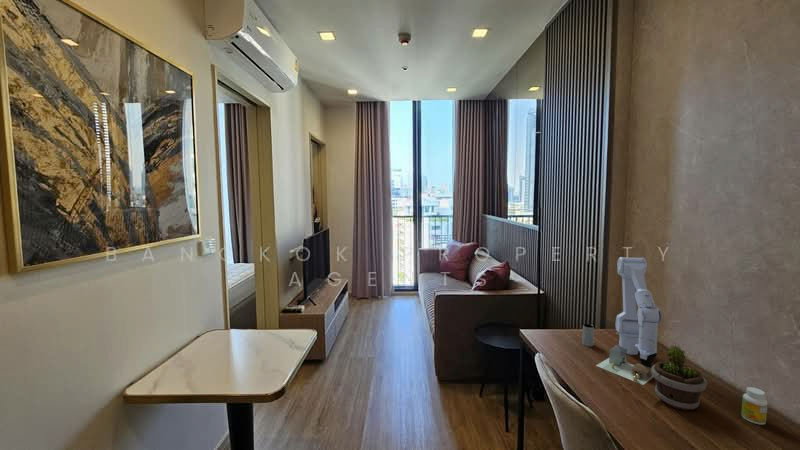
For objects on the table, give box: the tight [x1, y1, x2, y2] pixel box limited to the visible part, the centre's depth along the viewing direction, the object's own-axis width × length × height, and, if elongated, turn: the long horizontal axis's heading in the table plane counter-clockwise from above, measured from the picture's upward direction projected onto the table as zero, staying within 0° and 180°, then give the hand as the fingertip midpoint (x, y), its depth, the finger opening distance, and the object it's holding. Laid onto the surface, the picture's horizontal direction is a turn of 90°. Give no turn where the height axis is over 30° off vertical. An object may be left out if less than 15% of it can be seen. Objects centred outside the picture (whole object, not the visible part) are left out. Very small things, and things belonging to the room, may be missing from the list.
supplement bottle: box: [741, 386, 768, 425], centre depth 104 cm, size 5×5×10 cm
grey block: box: [608, 344, 628, 367], centre depth 139 cm, size 6×4×6 cm, turn 123°
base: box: [595, 357, 654, 386], centre depth 133 cm, size 13×17×3 cm
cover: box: [632, 362, 652, 380], centre depth 129 cm, size 5×5×3 cm
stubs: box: [633, 373, 640, 382], centre depth 126 cm, size 4×1×2 cm, turn 123°
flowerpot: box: [651, 342, 708, 411], centre depth 113 cm, size 14×15×20 cm
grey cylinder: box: [581, 323, 595, 347], centre depth 156 cm, size 4×4×10 cm
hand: (646, 369), depth 131 cm, fingers closed
